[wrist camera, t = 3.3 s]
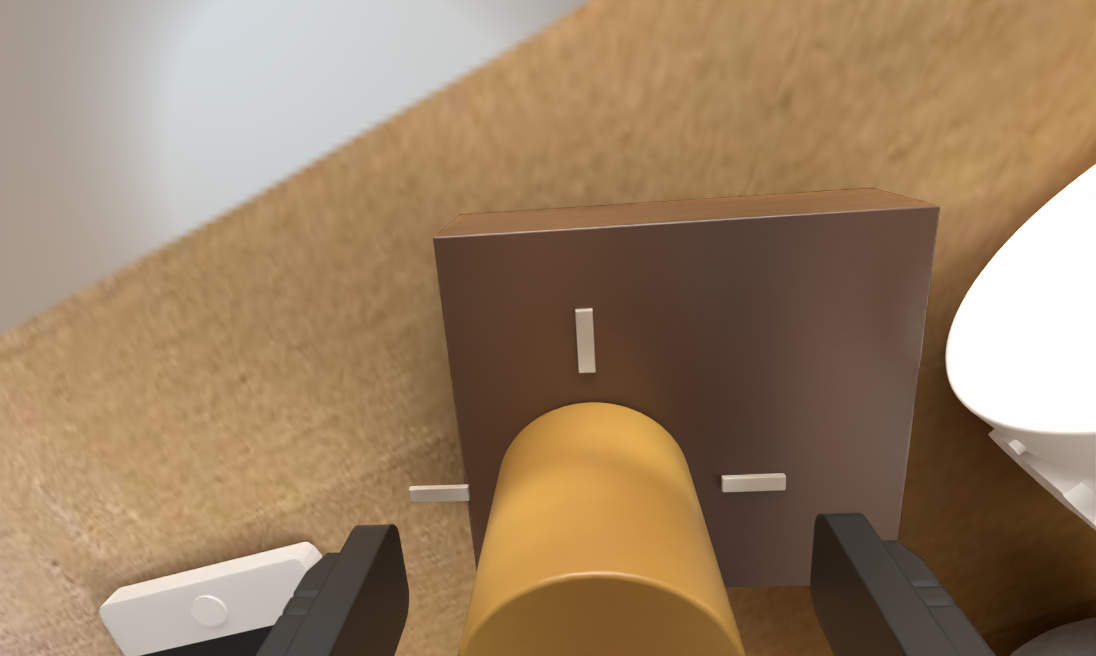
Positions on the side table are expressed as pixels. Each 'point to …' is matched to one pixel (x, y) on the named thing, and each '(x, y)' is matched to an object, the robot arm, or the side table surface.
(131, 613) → the smartphone
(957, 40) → the side table surface
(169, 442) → the side table surface
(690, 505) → the knob
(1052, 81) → the side table surface
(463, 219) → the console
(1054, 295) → the mug
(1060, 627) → the decorative ball
